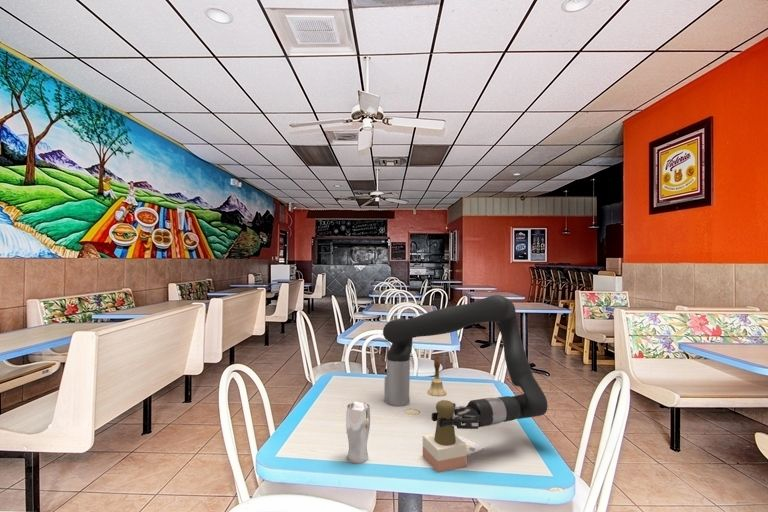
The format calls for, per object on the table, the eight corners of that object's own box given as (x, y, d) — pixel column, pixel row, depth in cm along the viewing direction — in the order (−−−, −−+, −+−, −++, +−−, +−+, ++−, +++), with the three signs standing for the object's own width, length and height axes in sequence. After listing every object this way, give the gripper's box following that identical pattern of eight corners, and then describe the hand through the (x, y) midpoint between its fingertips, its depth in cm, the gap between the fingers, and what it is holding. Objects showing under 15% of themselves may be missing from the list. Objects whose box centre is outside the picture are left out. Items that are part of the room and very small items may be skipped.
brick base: (422, 456, 113) (422, 435, 113) (449, 451, 116) (449, 431, 116) (437, 472, 105) (437, 450, 105) (466, 466, 108) (466, 444, 108)
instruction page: (444, 442, 122) (444, 441, 122) (459, 436, 126) (459, 435, 126) (468, 455, 114) (468, 454, 114) (483, 449, 118) (483, 447, 118)
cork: (455, 446, 107) (456, 406, 107) (433, 444, 108) (433, 404, 108) (455, 436, 113) (455, 398, 113) (434, 434, 114) (435, 397, 114)
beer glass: (373, 454, 114) (373, 403, 114) (364, 466, 107) (365, 412, 107) (351, 450, 116) (352, 400, 116) (341, 461, 109) (342, 408, 109)
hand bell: (423, 391, 169) (423, 354, 169) (438, 388, 172) (439, 352, 173) (434, 397, 161) (435, 359, 161) (450, 394, 165) (451, 357, 165)
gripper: (473, 391, 122) (424, 398, 116) (501, 407, 109) (448, 416, 103) (473, 415, 122) (424, 423, 116) (501, 434, 109) (448, 444, 103)
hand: (435, 419), depth 109 cm, fingers closed on cork, 3 cm apart
